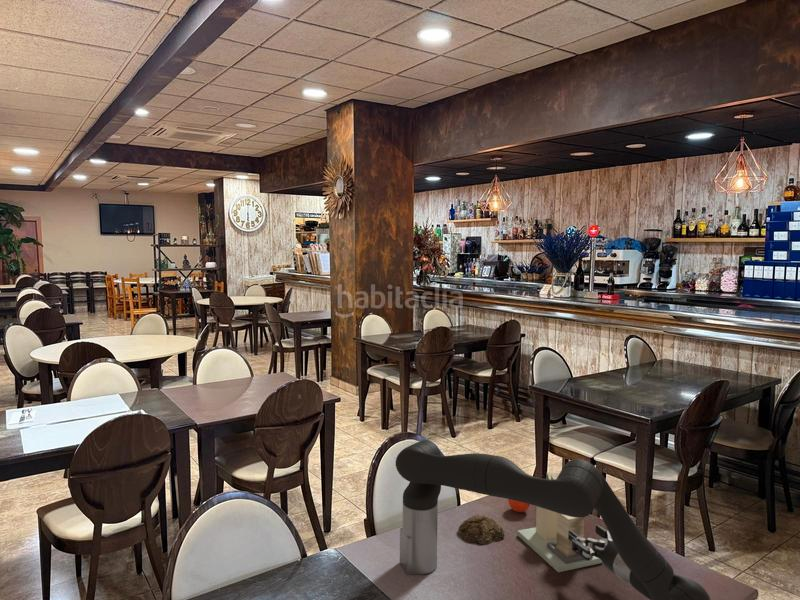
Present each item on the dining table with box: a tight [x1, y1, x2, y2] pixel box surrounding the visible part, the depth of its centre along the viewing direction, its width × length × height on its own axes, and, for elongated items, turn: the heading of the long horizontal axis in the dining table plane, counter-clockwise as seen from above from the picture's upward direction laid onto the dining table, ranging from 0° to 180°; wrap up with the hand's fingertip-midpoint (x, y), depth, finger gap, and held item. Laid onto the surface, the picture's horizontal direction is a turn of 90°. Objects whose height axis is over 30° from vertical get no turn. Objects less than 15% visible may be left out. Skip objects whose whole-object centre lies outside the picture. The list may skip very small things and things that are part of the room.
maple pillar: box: [556, 513, 585, 557], centre depth 152 cm, size 5×5×11 cm
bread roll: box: [457, 514, 505, 545], centre depth 165 cm, size 13×12×5 cm
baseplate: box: [517, 506, 603, 573], centre depth 157 cm, size 14×20×12 cm
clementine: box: [507, 499, 531, 513], centre depth 179 cm, size 8×7×7 cm
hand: (583, 531), depth 147 cm, fingers open, 8 cm apart
